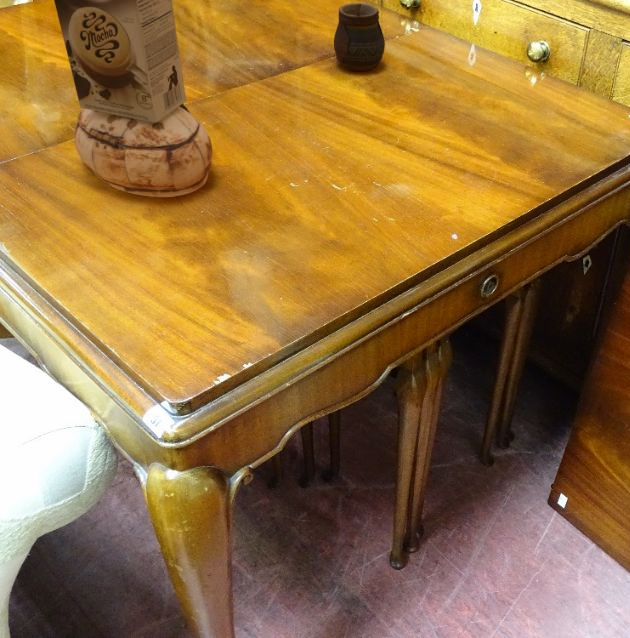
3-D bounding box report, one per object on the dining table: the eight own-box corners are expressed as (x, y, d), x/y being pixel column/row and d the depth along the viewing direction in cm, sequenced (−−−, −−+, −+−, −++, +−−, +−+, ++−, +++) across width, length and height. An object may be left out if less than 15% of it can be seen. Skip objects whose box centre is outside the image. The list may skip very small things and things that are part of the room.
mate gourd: (378, 54, 115) (379, -16, 109) (390, 74, 110) (391, 2, 103) (330, 57, 113) (328, -14, 107) (340, 77, 108) (338, 4, 101)
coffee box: (77, 109, 79) (34, -62, 69) (114, 86, 84) (79, -77, 73) (156, 125, 77) (124, -48, 67) (190, 100, 82) (164, -65, 72)
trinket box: (205, 206, 81) (194, 136, 76) (59, 201, 80) (38, 131, 75) (228, 146, 91) (220, 81, 86) (99, 141, 90) (83, 76, 85)
